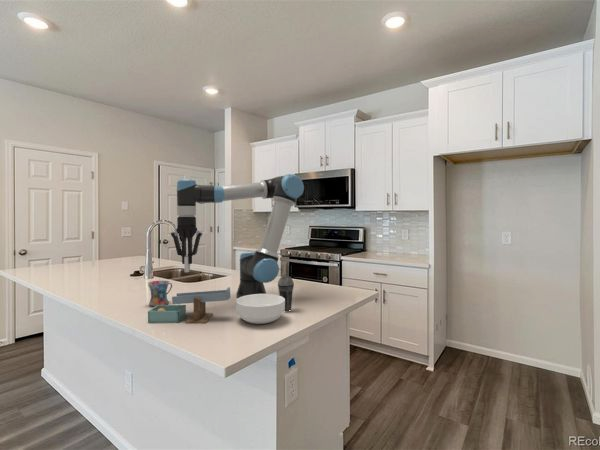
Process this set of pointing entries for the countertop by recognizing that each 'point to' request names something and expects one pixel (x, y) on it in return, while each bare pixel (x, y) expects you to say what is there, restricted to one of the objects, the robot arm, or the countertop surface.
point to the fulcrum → (199, 313)
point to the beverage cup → (286, 290)
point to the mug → (159, 292)
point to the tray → (167, 314)
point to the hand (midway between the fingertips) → (187, 271)
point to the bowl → (260, 308)
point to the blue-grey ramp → (202, 296)
